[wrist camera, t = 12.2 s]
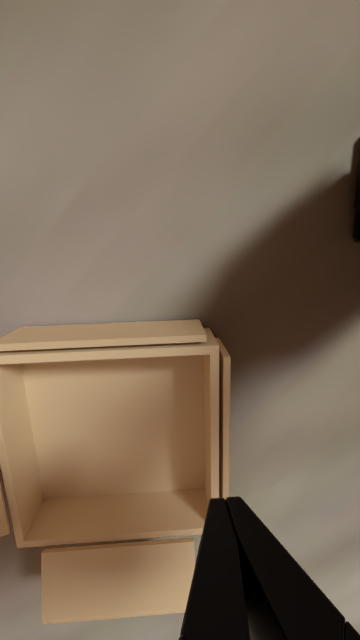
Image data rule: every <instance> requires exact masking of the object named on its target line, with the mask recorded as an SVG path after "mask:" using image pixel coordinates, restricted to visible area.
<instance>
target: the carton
mask: <svg viewBox="0 0 360 640" xmlns="http://www.w3.org/2000/svg"><path fill="white" fill-rule="evenodd" d="M230 370H231V357H230V355H229V353H228V352H227V350H226V348H225V347H224V345H223V343H222V342H221V340H220V338H215V337H214V335H213V334H212V332H211V330H210V328H209V327H208V328H203V327H202V324H201V322H200V320H199V319H194V320H170V321H146V322H123V323H99V324H76V325H52V326H28V327H19V328H18V329H16V330H14V331H12V332H11V333H9V334H7V335H5V336H4V337H2V338H0V466H1V471H2V476H3V481H4V486H5V491H6V496H7V501H8V506H9V511H10V516H11V521H12V526H13V530H14V535H15V540H16V545H17V548H25V547H39V546H52V545H66V544H79V543H93V542H106V541H119V540H133V539H146V538H160V537H173V536H187V535H200V534H202V532H203V527H204V522H205V518H206V513H207V509H208V504H209V500H210V499H211V498H224V499H226V498H227V497H229V464H230Z"/></svg>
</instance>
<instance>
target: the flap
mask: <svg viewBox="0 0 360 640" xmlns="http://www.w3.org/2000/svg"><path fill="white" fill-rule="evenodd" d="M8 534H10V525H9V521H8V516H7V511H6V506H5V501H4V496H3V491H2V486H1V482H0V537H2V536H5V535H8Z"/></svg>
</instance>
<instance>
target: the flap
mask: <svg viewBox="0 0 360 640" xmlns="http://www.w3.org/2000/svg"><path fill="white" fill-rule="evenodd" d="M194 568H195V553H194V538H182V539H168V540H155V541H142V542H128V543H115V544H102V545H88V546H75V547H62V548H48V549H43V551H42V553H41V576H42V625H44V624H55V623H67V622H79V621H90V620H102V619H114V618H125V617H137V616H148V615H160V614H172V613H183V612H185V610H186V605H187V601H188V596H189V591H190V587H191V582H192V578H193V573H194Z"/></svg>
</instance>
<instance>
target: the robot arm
mask: <svg viewBox="0 0 360 640" xmlns="http://www.w3.org/2000/svg"><path fill="white" fill-rule="evenodd" d="M354 208H355V210H356V211H355V220H354V230H353V239H354V241H356V242H357V243H360V165H359V167H358V176H357V186H356V195H355V205H354ZM180 636H181V637H180V638H179V640H360V635H359V633H358V632H357V631H356V630H355V629H354V628H353V626H352V625H351V624H350V623H349V622H346V623H345V618H344V616H343V615H342V614H341V613H340V612H339V610H338V609H337V608H336V607H335V606H334V605H333V603H332V602H331V601H330V600H329V599H328V598H327V597H326V595H325V594H324V593H323V592H322V591H321V590H320V588H319V587H318V586H317V585H316V584H315V583H314V581H313V580H312V579H311V578H310V577H309V576H308V575H307V573H306V572H305V571H304V570H303V569H302V568H301V566H300V565H299V564H298V563H297V562H296V561H295V559H294V558H293V557H292V556H291V555H290V554H289V553H288V551H287V550H286V549H285V548H284V547H283V546H282V544H281V543H280V542H279V541H278V540H277V539H276V537H275V536H274V535H273V534H272V533H271V532H270V531H269V529H268V528H267V527H266V526H265V525H264V524H263V522H262V521H261V520H260V519H259V518H258V517H257V515H256V514H255V513H254V512H253V511H252V510H251V509H250V507H249V506H248V505H247V504H246V503H245V502H244V500H243V499H242V498H241V497H238V496H237V497H227V498H226V499H224V498H211V499H210V500H209V504H208V509H207V513H206V518H205V522H204V527H203V532H202V536H201V541H200V545H199V550H198V555H197V559H196V564H195V568H194V573H193V578H192V582H191V587H190V591H189V596H188V601H187V605H186V610H185V614H184V619H183V624H182V628H181V633H180Z"/></svg>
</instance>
